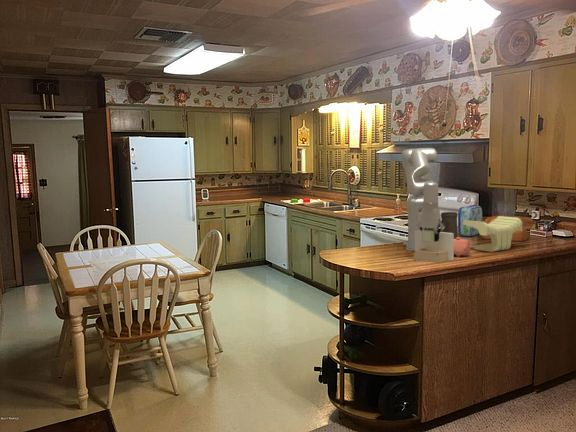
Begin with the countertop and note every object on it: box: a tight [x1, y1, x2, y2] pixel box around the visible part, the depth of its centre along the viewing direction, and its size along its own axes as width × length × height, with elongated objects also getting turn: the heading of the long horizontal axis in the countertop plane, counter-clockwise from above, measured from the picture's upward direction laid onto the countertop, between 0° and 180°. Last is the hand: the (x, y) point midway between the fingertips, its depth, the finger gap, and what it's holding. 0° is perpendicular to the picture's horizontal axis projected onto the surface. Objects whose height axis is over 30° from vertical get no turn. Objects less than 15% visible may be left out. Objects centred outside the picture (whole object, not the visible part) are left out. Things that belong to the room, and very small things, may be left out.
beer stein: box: [440, 211, 458, 239], centre depth 306 cm, size 15×11×20 cm
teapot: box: [454, 236, 472, 258], centre depth 263 cm, size 14×12×10 cm
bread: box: [480, 215, 528, 242], centre depth 314 cm, size 14×26×16 cm, turn 47°
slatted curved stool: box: [463, 215, 522, 253], centre depth 277 cm, size 30×16×18 cm, turn 118°
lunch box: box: [457, 204, 483, 237], centre depth 336 cm, size 26×11×21 cm, turn 141°
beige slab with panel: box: [413, 230, 455, 264], centre depth 255 cm, size 22×12×14 cm, turn 42°
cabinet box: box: [422, 228, 438, 243], centre depth 252 cm, size 6×7×8 cm
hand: (430, 240), depth 253 cm, fingers closed on cabinet box, 6 cm apart
